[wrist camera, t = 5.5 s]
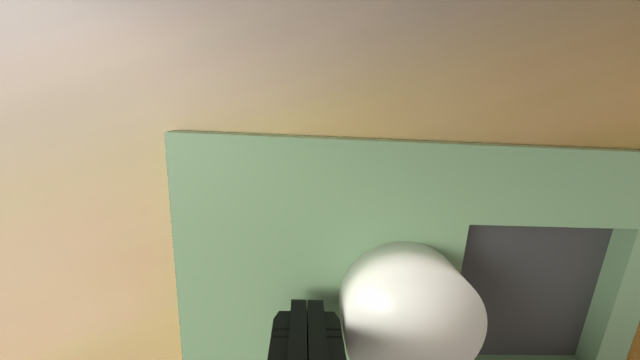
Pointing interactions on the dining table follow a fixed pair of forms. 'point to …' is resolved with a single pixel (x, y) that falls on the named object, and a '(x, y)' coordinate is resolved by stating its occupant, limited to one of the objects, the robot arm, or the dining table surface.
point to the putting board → (405, 234)
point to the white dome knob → (409, 306)
